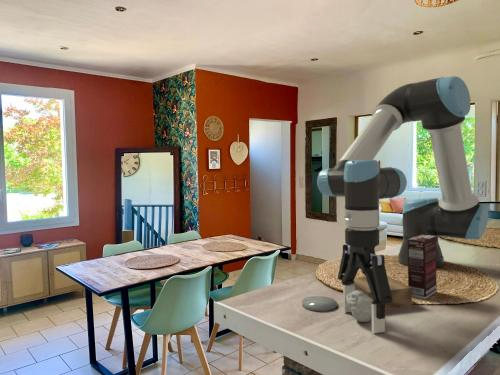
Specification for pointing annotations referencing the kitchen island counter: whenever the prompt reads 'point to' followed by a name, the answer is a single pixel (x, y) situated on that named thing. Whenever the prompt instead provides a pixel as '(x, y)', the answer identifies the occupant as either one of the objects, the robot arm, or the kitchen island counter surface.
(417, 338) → the kitchen island counter surface
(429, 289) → the supplement box
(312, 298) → the grey oval dome
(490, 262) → the kitchen island counter surface
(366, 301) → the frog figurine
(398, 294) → the walnut block
